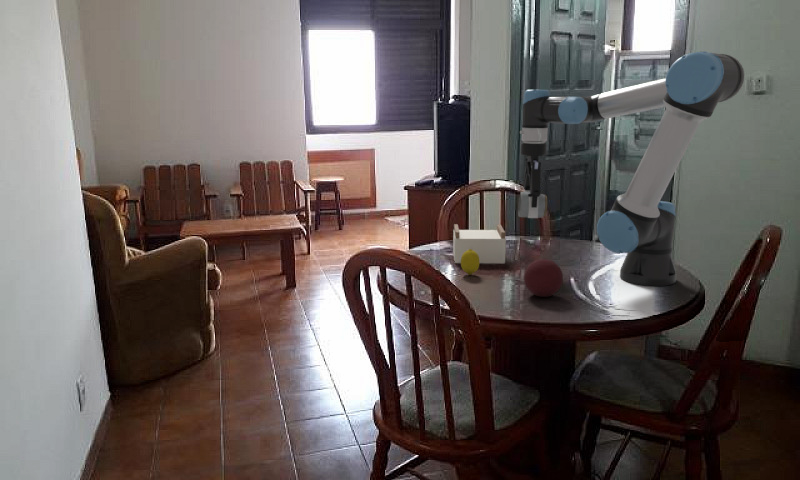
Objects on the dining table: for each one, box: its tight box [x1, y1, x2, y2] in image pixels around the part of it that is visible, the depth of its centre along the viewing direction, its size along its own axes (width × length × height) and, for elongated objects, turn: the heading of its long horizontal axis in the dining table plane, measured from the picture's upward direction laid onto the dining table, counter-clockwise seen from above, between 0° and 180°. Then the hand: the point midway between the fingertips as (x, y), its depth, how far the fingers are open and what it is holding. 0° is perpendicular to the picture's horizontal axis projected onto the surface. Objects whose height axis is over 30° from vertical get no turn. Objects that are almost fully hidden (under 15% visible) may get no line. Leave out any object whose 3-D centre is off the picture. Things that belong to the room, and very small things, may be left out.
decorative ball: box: [523, 258, 564, 298], centre depth 166 cm, size 10×10×10 cm
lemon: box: [460, 249, 480, 276], centre depth 187 cm, size 6×6×8 cm
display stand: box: [452, 223, 507, 264], centre depth 207 cm, size 14×16×10 cm
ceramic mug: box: [518, 191, 548, 219], centre depth 193 cm, size 11×8×8 cm
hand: (530, 214), depth 194 cm, fingers closed on ceramic mug, 11 cm apart
